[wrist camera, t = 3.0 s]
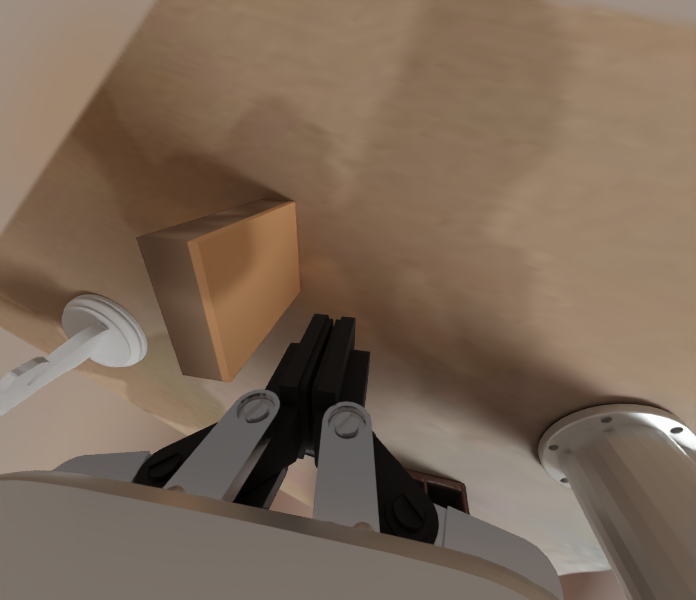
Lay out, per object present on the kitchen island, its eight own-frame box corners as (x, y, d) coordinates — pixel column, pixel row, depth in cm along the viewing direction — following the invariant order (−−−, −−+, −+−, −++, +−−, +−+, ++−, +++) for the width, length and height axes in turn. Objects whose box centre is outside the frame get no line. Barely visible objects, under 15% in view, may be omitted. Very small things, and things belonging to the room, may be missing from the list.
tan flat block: (295, 201, 22) (197, 242, 12) (300, 290, 26) (230, 382, 15) (260, 199, 23) (136, 237, 12) (270, 287, 26) (182, 374, 16)
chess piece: (161, 337, 32) (-5, 461, 19) (129, 373, 37) (-24, 495, 23) (86, 277, 30) (-160, 371, 17) (62, 323, 34) (-149, 426, 21)
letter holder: (465, 481, 35) (499, 661, 22) (425, 550, 44) (433, 702, 32) (386, 461, 36) (377, 623, 23) (364, 532, 45) (349, 674, 33)
